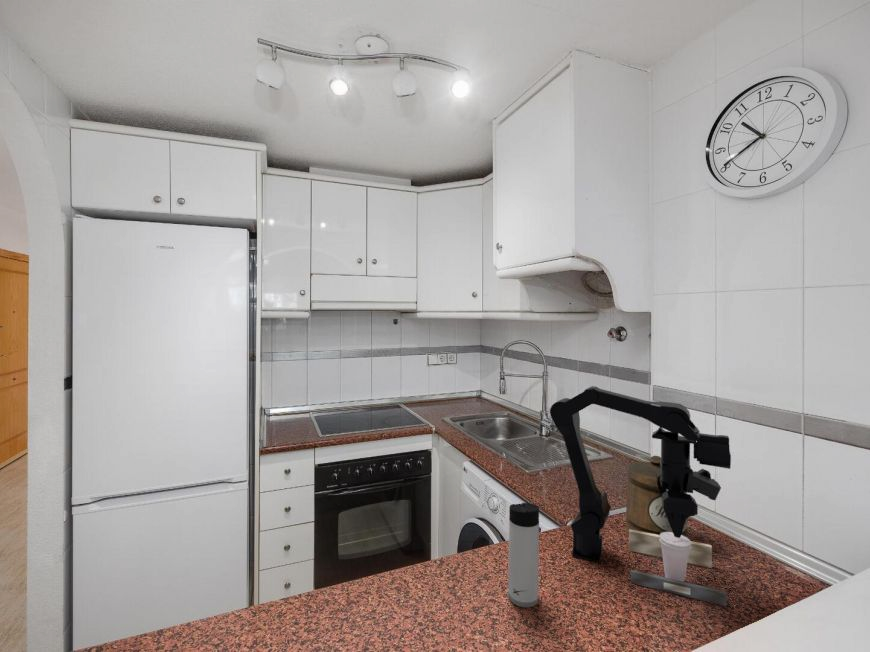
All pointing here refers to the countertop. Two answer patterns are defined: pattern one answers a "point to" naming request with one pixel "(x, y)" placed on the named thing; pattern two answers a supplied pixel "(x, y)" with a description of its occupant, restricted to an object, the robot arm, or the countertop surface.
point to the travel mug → (523, 554)
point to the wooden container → (646, 499)
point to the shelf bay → (697, 556)
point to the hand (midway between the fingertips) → (674, 527)
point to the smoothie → (675, 555)
